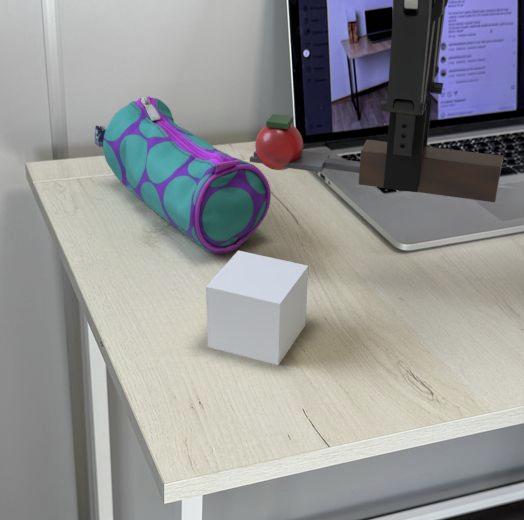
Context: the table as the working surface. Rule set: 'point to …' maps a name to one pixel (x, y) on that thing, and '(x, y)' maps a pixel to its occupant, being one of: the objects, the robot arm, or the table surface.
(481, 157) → the brown handled tool
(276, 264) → the white cube
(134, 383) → the table surface
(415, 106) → the robot arm
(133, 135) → the pencil case
